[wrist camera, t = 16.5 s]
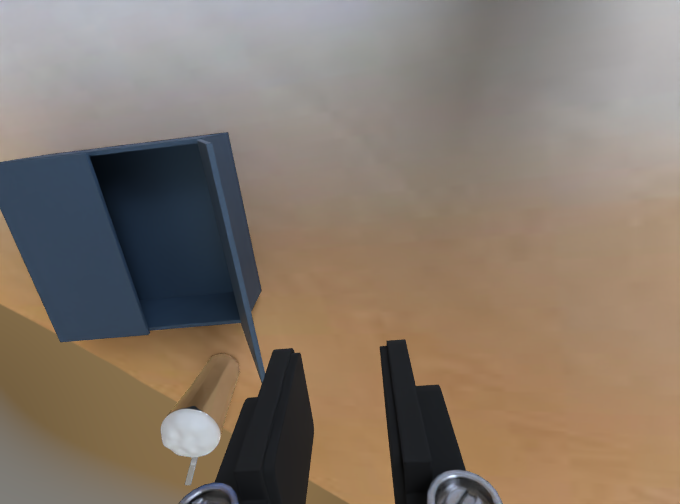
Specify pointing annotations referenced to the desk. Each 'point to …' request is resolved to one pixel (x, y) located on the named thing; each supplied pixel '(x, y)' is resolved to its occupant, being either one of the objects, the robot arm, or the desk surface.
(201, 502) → the robot arm
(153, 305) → the carton
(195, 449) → the milkshake
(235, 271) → the flap
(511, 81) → the desk surface
